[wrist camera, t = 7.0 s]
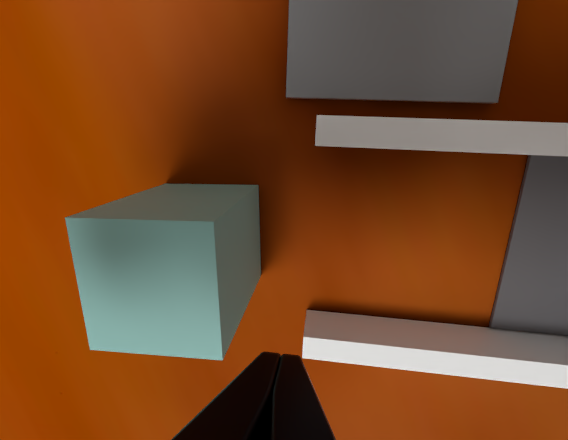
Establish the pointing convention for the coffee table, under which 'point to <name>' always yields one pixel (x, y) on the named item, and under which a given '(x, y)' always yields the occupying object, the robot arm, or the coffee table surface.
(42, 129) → the coffee table surface
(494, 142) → the channel
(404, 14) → the coaster
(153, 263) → the block
